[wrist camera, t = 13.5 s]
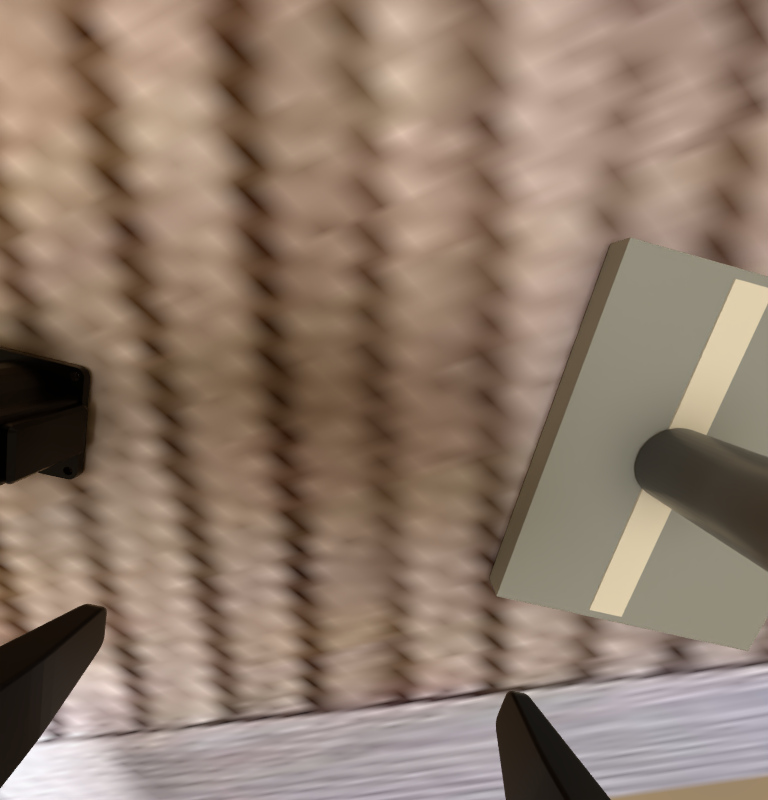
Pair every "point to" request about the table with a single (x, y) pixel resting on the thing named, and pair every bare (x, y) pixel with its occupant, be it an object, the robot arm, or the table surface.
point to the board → (623, 440)
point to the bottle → (710, 487)
